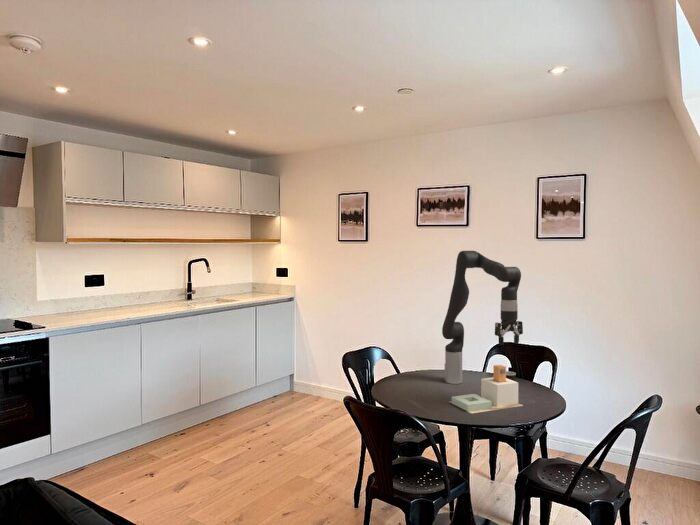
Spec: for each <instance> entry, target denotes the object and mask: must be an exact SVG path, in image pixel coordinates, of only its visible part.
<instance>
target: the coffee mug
mask: <svg viewBox="0 0 700 525" xmlns="http://www.w3.org/2000/svg"><path fill="white" fill-rule="evenodd" d="M516 374H517V373H516V372H514V371H509V370H506V378H507V379H510V380H513V381H515V382H516V378H517V377H516Z"/></svg>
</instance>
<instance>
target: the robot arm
mask: <svg viewBox="0 0 700 525" xmlns="http://www.w3.org/2000/svg"><path fill="white" fill-rule="evenodd" d="M475 268H478V269H482V270H483V271H484V273H486V274H487V275H490V276H493V277H494V278H496V279H497V280H498V281H499V282H503V283H508V284H507V286H504V287H502V288H501V291H500V299H501V300H500V320H501V321H500V322H495V324H494V336H497V337H498V345H500V346H504V344H505V343H504V342H505V341H504V336H505V334H507V333H508V332H512V333H513V343H514V344H516V345H518V344H519V342H520V335H523V333H524V328H523V327H524V326H523V325H524V324H523V321H520V320H518V316H519V315H518V306H519V305H518V290H519V286H520V283H521V278H522V272H521V270H520V268H519V267H518V266H505V265H504V264H503V263H501V262H497V261H496V260H493V259H490V258H488V257H486V256H484V255H483V254H481V253H480V252H478V251H477V250H461V251H459V253H458V254H457V258H456V264H455V273H454V280H453V285H452V288H451V292H450V298H449V304H448V308H447V312H446V314H445V318H444V321H443V324H442V327H441V329H442V331H441V333H442V336H443V338H444V339H446V340H451V342H449V343H447V344H446V345H445V349H444V350H445V354H444V355H445V356H444V357H445V358H444V360H445V362H444V382H445V383H447V384H453V385H457V384H462V383H463V348H464V340H465V327H464V325H463V323H462V322H461V321H456V319H457V318H458V316H459V314H460V313H462V311H463V310H464V309H465V307H466V306H467V304H468V302H469V301H468V300H469V296H470V289H469V286H468V284H467V280H466V271H467V269H475Z"/></svg>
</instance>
